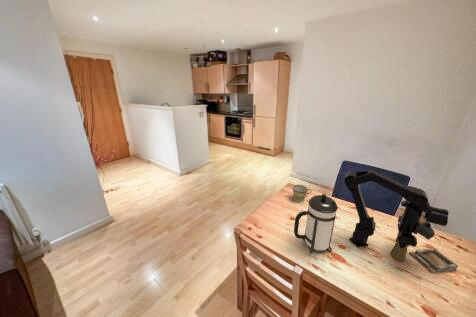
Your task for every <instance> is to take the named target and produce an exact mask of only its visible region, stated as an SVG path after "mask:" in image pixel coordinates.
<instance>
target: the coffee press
mask: <svg viewBox="0 0 476 317" xmlns="http://www.w3.org/2000/svg"><path fill="white" fill-rule="evenodd" d="M338 208H339V207H338V204H337V202H336V201H335V200H334V199H333V198H332V197H329V196H327V194H325V193H322V194H317V195H313V196H311V198H309V199H308V207H307V210H303V211H300V212H298V213H297V215H296V216H295V219H294V226H293V233H294V234H293V235H294V236H295V238H296V239H300V240H304V241H305V243H306V246H308V247H309V248H310V250H309V253H310V254H313V253H314V251H325V250H327V252H328V253H331V252H332V250H333V249H332V246H331V241H332V237H333V232H334V228H335V220H336V216H337V212H338V211H337V210H338ZM303 216H307V217H306V223H305V231H304V234H299V226H300V225H299V224H300V221H301V220H300V219H301V218H302V217H303Z"/></svg>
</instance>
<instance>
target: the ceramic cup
mask: <svg viewBox="0 0 476 317" xmlns="http://www.w3.org/2000/svg"><path fill="white" fill-rule="evenodd" d="M308 191H309V192H308ZM307 192H308V193H307ZM292 193H293V200H295V201H294V202H296V203H303V202H304V201H305V198H306V196H308V195H309V194H311V193H312V189H310V188H307V186H306V185H303V184H294V185H292Z"/></svg>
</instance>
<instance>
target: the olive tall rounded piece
mask: <svg viewBox="0 0 476 317" xmlns="http://www.w3.org/2000/svg"><path fill="white" fill-rule="evenodd" d="M409 247H410V245H406V246H405V247H404V248H403V249H402V248H400V245H399V241H398V240H397V237H395V243H394V246H393V247H392V249H391V250H390V252H389V256H390V258H392V259H393V260H394V261H396V262H398V263H404V262H406V258H407V252H408V251H407V250H408V248H409Z"/></svg>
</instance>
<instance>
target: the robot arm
mask: <svg viewBox="0 0 476 317" xmlns="http://www.w3.org/2000/svg"><path fill="white" fill-rule="evenodd" d="M343 182H344V185H345V186H346V188H347V190H349V192H350V193H351V197H352V200H353V202H354V205H355V209H356V212H357V215H358V218H359V219H358V220H359V222H356V223H355V228H354V230H353V232H352V235H351V237H349V240H350V242H352V243H353V245H354V246H355V247H356V248H364V247H366V248H367V247H369V244H368V240H369V237H372V236H373V235H374V233H375V231H376V224H377V223H376V222H375V219H374V216H370V215H369V213H368V210H367V207H366V203H365V200H364V197H363V194H362V191H361V185H362V184H365V183H368V182H373V183H375V184H377V185H379V186H381V187H383V188H385V189H387V190H389V191H392V192H393V193H396V194H398V195H399V196H401V197H402V198H403V199H404V200H402V201H400V206H401V207H403V208H404V210H403V213H402V214H401V215H399V216H398V218H397V230H398V232H397V235H396V236H397V237H396V238H397V240H398V241H399V245H400V248H402V249H403V248H404V247H405V246H406V245H409V247H410V246H411V247H413V248H415V247H417V244H418V238H417V237H416V236H415V235H418V234H419V235H420V236H422V237H423V238H424V239H426V240H428V241H429V240H430V239H432V238H433V237H435V235H436V234H435V230H434V229H433V227H432V224H435V225H437V226H442V227H446V226H447V225H448V222H449V221H448V220H449V214H450V213H449V210H447V209H445V208H439V207H434V206H431V204H430V202H429V199H428V196H427V193H426V191H424V190H423V189H421V188H419V187H415V186H411V185H406V184H402V183H400V182H398V181H396V180H394V179H392V178H390V177H388V176H385V175H383V174H381V173H379V172H377V170H374V169H370V170H358V171H352V170H351V171H349V172H347V173H346V175H345V177H344V179H343ZM421 218H423V219H425V222H420V221H421ZM413 234H415V235H413Z"/></svg>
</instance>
